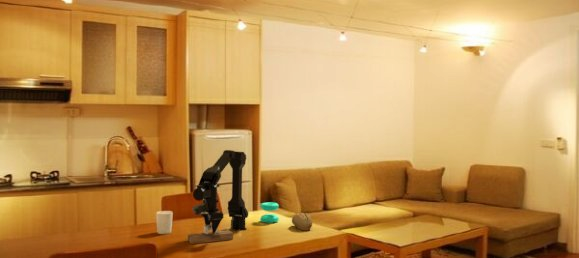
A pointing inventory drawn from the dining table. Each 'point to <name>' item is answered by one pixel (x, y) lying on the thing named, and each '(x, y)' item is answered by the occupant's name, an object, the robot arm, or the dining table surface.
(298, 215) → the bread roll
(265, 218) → the donuts
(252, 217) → the dining table surface
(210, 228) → the grey arch block
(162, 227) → the white cup
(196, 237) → the rail
